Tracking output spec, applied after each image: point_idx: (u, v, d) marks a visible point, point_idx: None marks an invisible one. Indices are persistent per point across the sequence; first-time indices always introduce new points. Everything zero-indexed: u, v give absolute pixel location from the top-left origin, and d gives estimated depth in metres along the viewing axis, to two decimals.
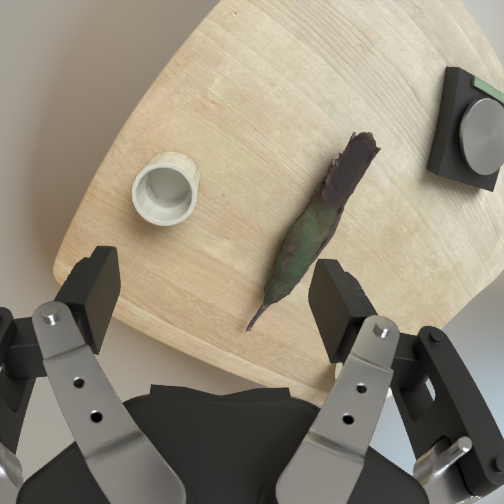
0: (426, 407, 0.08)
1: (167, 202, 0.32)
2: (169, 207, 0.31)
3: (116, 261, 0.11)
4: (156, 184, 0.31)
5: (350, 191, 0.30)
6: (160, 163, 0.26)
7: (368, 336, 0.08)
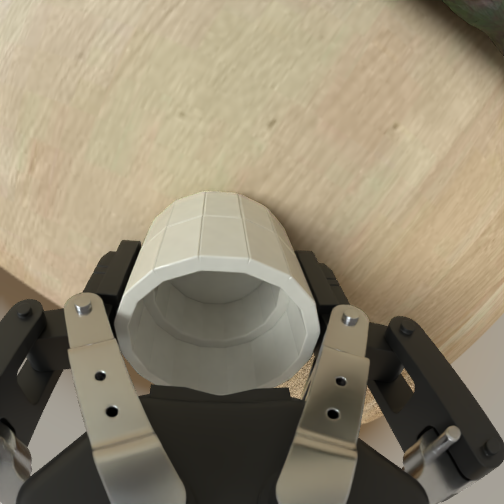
0: (405, 397, 0.08)
1: None
2: (278, 290, 0.11)
3: None
4: (226, 291, 0.14)
5: None
6: (120, 345, 0.09)
7: (338, 326, 0.08)
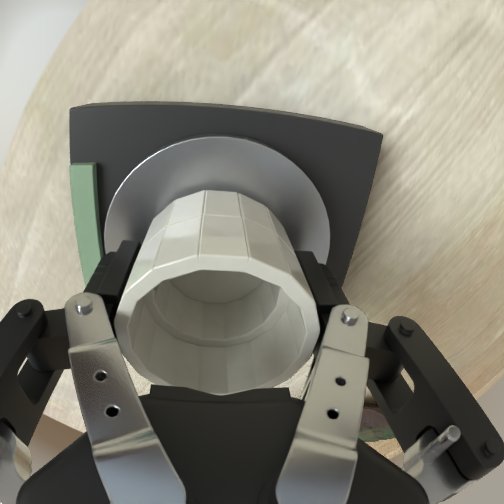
0: (405, 397, 0.08)
1: None
2: (278, 289, 0.11)
3: None
4: (226, 290, 0.14)
5: None
6: (120, 345, 0.09)
7: (337, 326, 0.08)
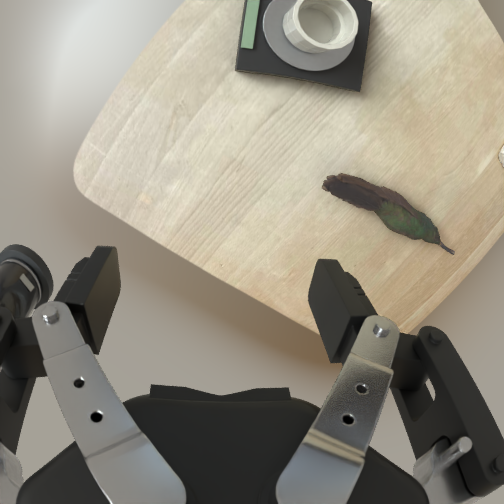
0: (426, 407, 0.08)
1: (334, 32, 0.25)
2: (340, 27, 0.23)
3: (116, 261, 0.11)
4: (315, 40, 0.26)
5: (370, 194, 0.35)
6: (293, 14, 0.21)
7: (368, 336, 0.08)
